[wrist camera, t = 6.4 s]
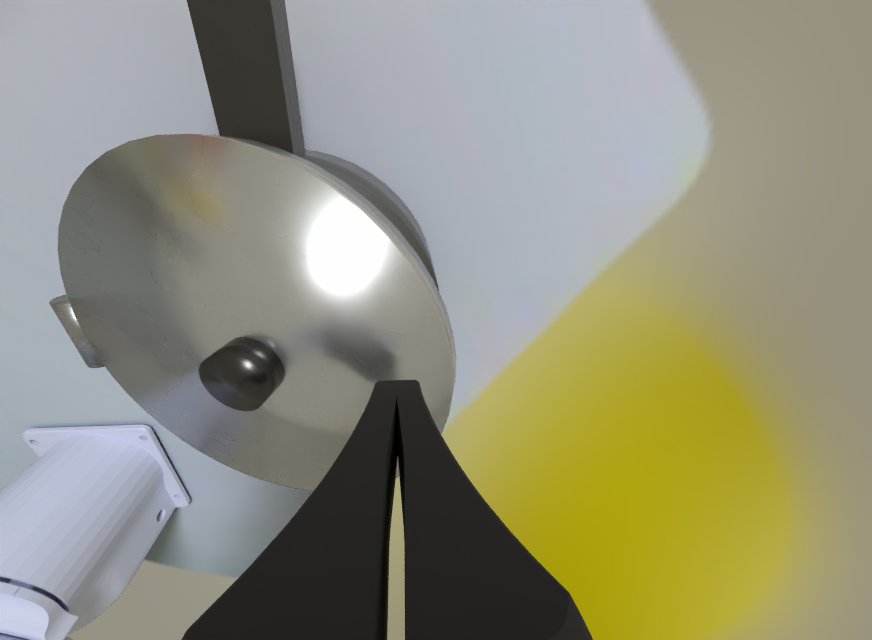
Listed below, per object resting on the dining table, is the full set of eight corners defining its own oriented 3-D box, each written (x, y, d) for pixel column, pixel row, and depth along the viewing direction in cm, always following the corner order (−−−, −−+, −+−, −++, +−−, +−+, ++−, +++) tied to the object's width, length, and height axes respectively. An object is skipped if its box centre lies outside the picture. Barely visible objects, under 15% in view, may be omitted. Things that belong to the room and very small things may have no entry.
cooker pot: (428, 371, 23) (434, 425, 19) (224, 376, 22) (180, 434, 17) (445, 3, 14) (465, -62, 9) (80, -33, 12) (-99, -130, 8)
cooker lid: (444, 495, 16) (436, 546, 14) (157, 439, 18) (114, 476, 16) (478, 149, 8) (471, 150, 6) (-17, 121, 10) (-139, 116, 8)
